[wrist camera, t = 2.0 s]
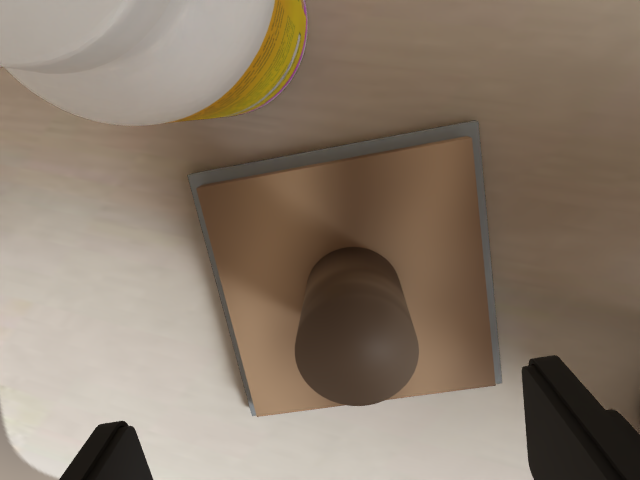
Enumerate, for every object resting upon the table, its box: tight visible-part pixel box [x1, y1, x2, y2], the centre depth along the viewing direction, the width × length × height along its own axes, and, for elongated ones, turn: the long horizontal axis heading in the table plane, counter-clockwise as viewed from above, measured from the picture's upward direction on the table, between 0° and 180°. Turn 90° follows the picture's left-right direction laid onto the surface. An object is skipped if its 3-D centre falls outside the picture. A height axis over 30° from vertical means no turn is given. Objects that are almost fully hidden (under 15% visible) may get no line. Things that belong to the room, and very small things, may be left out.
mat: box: [187, 121, 502, 416], centre depth 21 cm, size 12×12×1 cm
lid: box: [196, 136, 496, 417], centre depth 18 cm, size 11×11×6 cm
